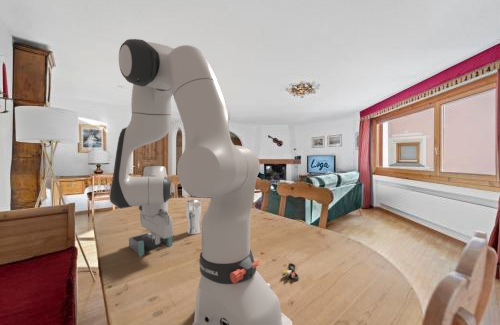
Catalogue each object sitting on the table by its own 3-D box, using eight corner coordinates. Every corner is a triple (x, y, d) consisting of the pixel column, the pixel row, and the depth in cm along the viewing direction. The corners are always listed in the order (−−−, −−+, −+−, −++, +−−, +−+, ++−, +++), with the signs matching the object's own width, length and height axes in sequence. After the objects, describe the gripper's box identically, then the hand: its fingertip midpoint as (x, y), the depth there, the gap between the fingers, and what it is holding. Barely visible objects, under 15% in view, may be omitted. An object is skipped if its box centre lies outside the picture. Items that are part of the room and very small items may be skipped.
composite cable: (288, 265, 71) (288, 257, 71) (303, 268, 69) (303, 260, 69) (280, 281, 62) (280, 272, 62) (297, 285, 60) (297, 276, 60)
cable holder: (172, 245, 86) (172, 233, 86) (139, 256, 77) (139, 242, 76) (158, 237, 94) (158, 226, 94) (127, 246, 85) (127, 234, 85)
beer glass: (186, 235, 96) (185, 202, 96) (186, 230, 103) (186, 199, 103) (201, 234, 98) (201, 202, 98) (201, 229, 105) (200, 199, 104)
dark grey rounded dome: (163, 246, 85) (163, 233, 85) (145, 252, 80) (144, 238, 80) (155, 241, 90) (155, 229, 90) (138, 246, 85) (137, 233, 85)
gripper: (177, 210, 76) (177, 248, 77) (152, 202, 90) (153, 234, 91) (160, 214, 72) (160, 254, 72) (136, 204, 85) (137, 238, 86)
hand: (156, 243), depth 82 cm, fingers closed
